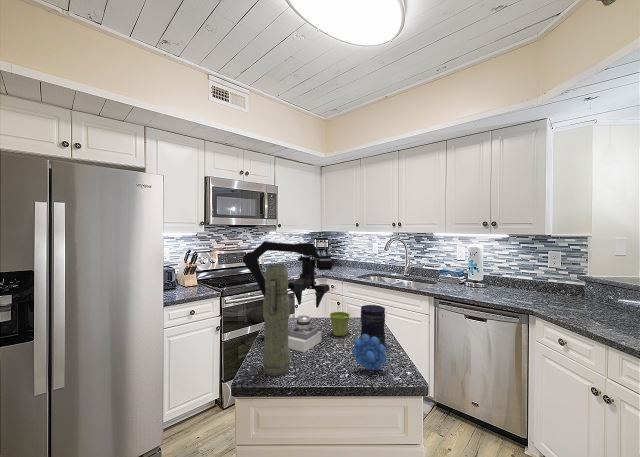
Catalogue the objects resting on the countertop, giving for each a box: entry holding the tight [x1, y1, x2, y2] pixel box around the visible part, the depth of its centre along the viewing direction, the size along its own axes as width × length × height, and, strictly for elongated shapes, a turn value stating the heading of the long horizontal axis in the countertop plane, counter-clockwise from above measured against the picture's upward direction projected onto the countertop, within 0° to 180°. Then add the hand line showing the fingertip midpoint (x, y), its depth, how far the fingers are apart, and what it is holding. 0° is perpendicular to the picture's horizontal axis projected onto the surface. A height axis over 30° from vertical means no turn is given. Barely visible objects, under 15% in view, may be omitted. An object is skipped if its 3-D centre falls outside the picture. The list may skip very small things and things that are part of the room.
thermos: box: [262, 263, 291, 377], centre depth 96 cm, size 9×12×35 cm
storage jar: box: [360, 304, 386, 346], centre depth 116 cm, size 10×10×15 cm
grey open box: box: [288, 326, 322, 353], centre depth 116 cm, size 9×13×6 cm
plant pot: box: [328, 311, 351, 337], centre depth 128 cm, size 9×9×9 cm
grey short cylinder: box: [296, 314, 311, 334], centre depth 116 cm, size 6×6×7 cm
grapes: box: [351, 334, 388, 371], centre depth 94 cm, size 12×7×12 cm, turn 87°
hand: (308, 306), depth 126 cm, fingers open, 9 cm apart
